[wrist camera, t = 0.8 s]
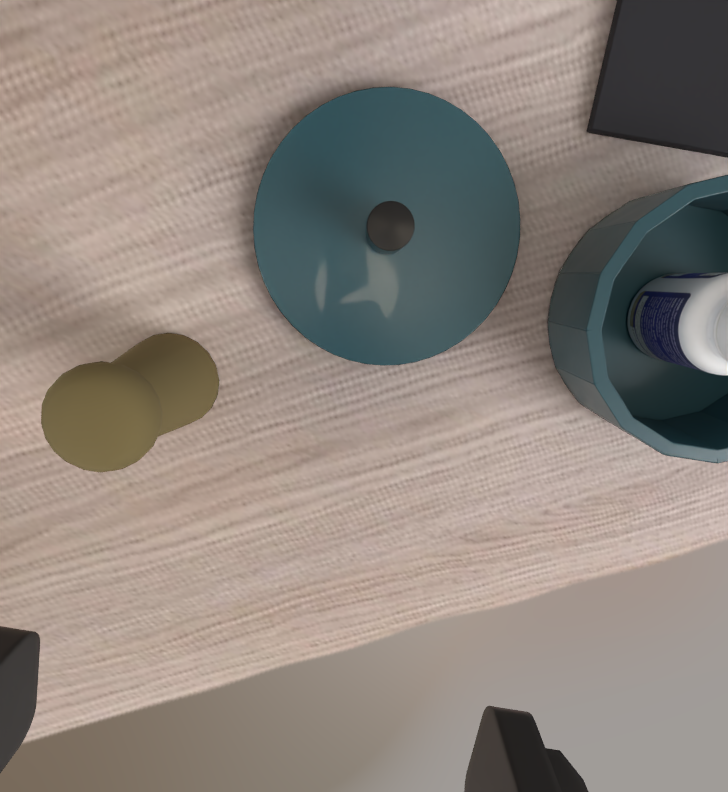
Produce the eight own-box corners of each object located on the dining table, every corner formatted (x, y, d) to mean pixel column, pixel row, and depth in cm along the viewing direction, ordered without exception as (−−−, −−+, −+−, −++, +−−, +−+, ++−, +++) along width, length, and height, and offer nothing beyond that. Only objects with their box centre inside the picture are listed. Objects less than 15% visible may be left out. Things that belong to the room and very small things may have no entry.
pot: (580, 172, 32) (631, 148, 26) (817, 214, 32) (923, 200, 26) (524, 410, 35) (558, 438, 29) (741, 444, 35) (821, 480, 29)
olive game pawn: (237, 370, 34) (179, 412, 24) (186, 443, 35) (109, 516, 25) (156, 313, 34) (58, 330, 23) (106, 390, 35) (-9, 440, 24)
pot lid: (273, 70, 31) (253, 23, 25) (541, 118, 31) (582, 83, 25) (242, 341, 34) (218, 354, 28) (485, 380, 35) (509, 401, 29)
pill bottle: (658, 376, 34) (758, 409, 26) (607, 314, 33) (693, 328, 25) (728, 318, 33) (855, 333, 25) (678, 254, 33) (792, 246, 24)
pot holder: (637, -87, 29) (644, -97, 28) (833, -49, 29) (846, -58, 29) (586, 132, 31) (591, 128, 31) (768, 165, 32) (778, 162, 31)
